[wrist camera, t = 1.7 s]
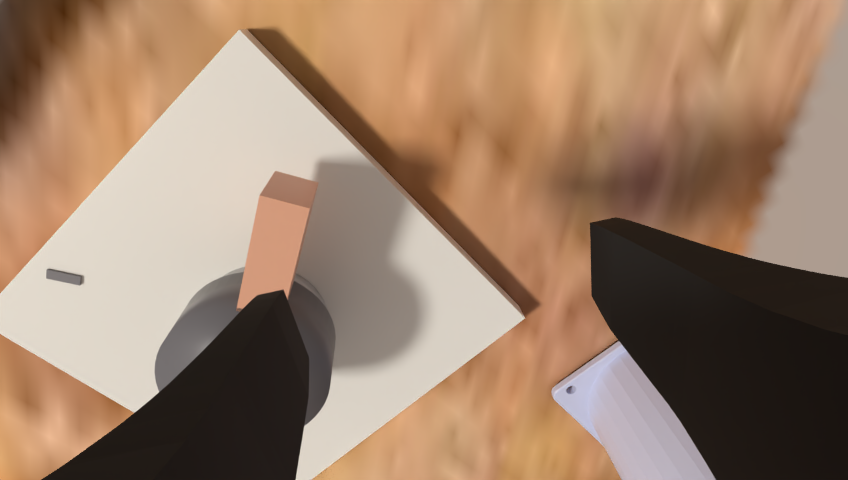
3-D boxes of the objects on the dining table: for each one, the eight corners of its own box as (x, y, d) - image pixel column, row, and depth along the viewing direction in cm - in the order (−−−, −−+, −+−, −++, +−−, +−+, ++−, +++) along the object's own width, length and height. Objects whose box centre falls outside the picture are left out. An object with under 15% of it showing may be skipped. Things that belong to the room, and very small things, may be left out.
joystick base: (246, 28, 17) (230, 30, 15) (519, 306, 23) (531, 331, 21) (-6, 306, 20) (-43, 334, 19) (286, 483, 26) (280, 518, 24)
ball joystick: (317, 406, 21) (309, 452, 19) (172, 380, 20) (146, 427, 18) (380, 199, 17) (381, 227, 15) (207, 151, 16) (180, 174, 14)
